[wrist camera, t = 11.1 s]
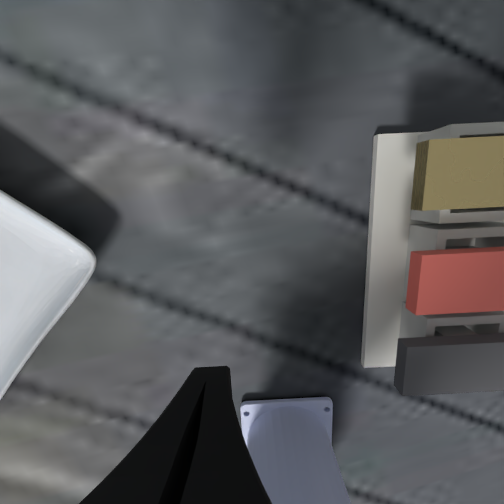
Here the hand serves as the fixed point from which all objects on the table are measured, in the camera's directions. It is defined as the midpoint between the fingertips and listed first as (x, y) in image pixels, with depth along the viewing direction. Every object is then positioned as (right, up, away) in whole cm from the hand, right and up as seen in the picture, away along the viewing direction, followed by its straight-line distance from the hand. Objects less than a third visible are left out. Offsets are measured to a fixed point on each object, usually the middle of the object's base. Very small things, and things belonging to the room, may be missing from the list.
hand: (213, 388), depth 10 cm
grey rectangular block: (+16, -1, +10) cm, 19 cm away
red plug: (+16, +5, +8) cm, 19 cm away
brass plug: (+16, +10, +8) cm, 20 cm away
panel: (+16, +5, +10) cm, 19 cm away
